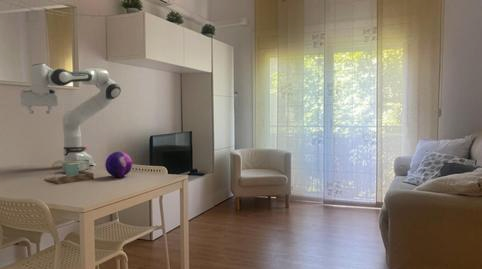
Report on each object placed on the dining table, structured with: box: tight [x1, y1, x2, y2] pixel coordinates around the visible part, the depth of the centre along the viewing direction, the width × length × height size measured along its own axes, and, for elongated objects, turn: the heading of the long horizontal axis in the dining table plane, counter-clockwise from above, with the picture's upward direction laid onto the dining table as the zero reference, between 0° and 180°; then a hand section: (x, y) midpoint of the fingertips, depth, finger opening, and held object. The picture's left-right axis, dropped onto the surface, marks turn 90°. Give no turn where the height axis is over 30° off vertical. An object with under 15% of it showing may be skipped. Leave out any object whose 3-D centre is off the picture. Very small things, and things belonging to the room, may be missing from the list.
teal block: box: [65, 163, 79, 176], centre depth 205 cm, size 5×4×8 cm
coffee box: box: [61, 160, 90, 174], centre depth 236 cm, size 9×6×16 cm
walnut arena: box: [44, 170, 95, 185], centre depth 205 cm, size 20×18×4 cm
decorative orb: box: [104, 151, 133, 178], centre depth 215 cm, size 15×15×15 cm
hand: (39, 113), depth 219 cm, fingers open, 8 cm apart
